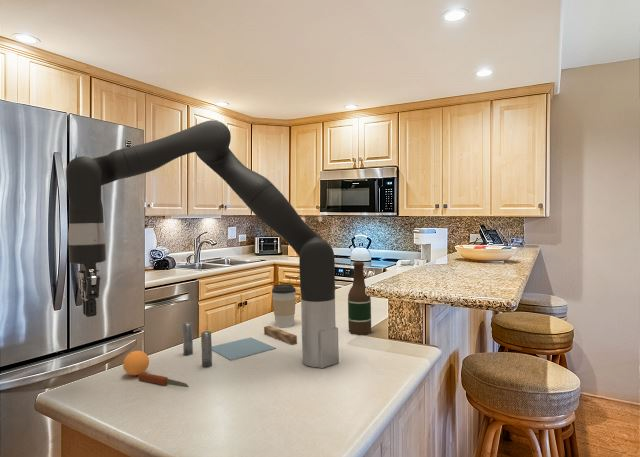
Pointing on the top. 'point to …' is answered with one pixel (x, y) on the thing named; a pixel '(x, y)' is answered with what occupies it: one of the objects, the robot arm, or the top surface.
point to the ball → (136, 363)
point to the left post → (187, 338)
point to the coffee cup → (284, 304)
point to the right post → (206, 349)
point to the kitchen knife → (160, 380)
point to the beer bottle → (359, 304)
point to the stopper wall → (280, 335)
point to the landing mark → (241, 348)
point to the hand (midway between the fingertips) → (89, 314)
